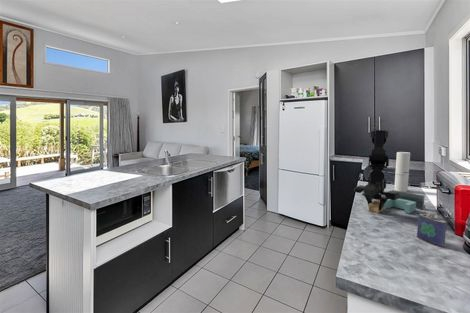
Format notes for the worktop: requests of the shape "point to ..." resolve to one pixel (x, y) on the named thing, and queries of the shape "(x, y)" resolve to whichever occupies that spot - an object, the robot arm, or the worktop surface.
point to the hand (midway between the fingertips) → (375, 209)
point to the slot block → (401, 204)
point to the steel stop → (413, 198)
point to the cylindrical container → (402, 171)
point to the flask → (431, 229)
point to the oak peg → (375, 206)
